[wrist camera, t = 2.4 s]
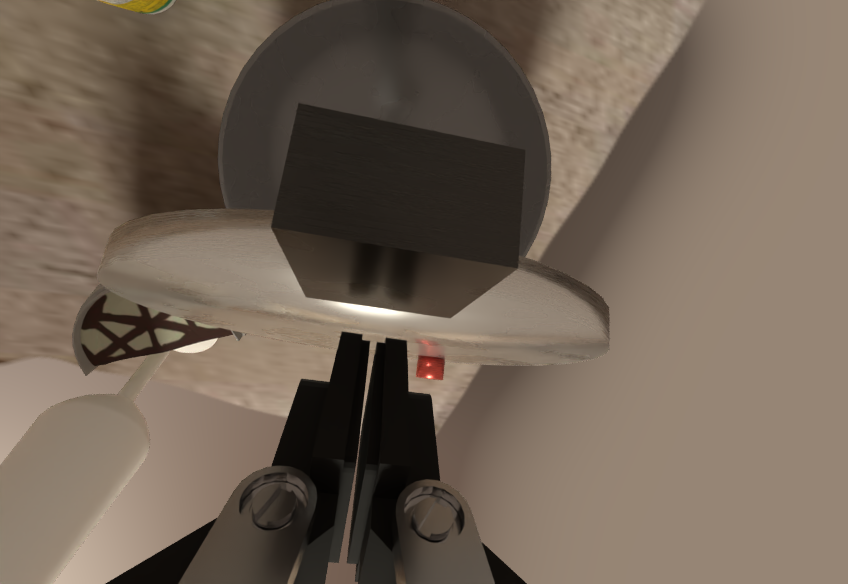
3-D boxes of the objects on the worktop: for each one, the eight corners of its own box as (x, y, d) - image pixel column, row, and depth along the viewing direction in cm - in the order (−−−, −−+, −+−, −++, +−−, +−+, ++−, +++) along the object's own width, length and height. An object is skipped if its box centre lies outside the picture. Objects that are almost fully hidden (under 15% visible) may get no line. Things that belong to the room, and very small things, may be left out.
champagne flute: (128, 299, 37) (-211, 623, 16) (202, 289, 37) (-45, 602, 16) (162, 357, 40) (-81, 684, 20) (230, 348, 40) (56, 667, 20)
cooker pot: (278, -7, 28) (212, -56, 18) (537, 56, 31) (603, 42, 21) (268, 254, 36) (219, 317, 26) (473, 286, 39) (499, 355, 29)
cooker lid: (-446, -52, 5) (-606, 142, 4) (968, 242, 7) (1000, 386, 6) (214, 314, 26) (205, 352, 26) (503, 354, 29) (501, 389, 28)
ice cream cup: (255, 213, 35) (205, 258, 26) (282, 278, 37) (246, 339, 28) (117, 247, 35) (21, 302, 26) (153, 308, 38) (78, 377, 29)
